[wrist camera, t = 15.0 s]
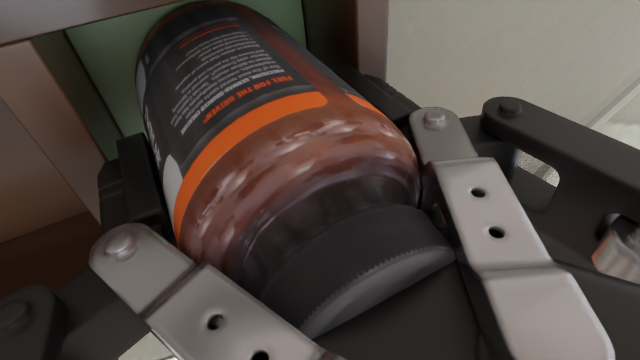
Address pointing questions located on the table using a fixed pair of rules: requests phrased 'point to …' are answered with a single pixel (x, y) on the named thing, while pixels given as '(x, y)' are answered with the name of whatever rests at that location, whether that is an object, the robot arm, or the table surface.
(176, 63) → the supplement bottle
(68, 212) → the organizer
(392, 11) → the table surface
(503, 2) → the table surface
